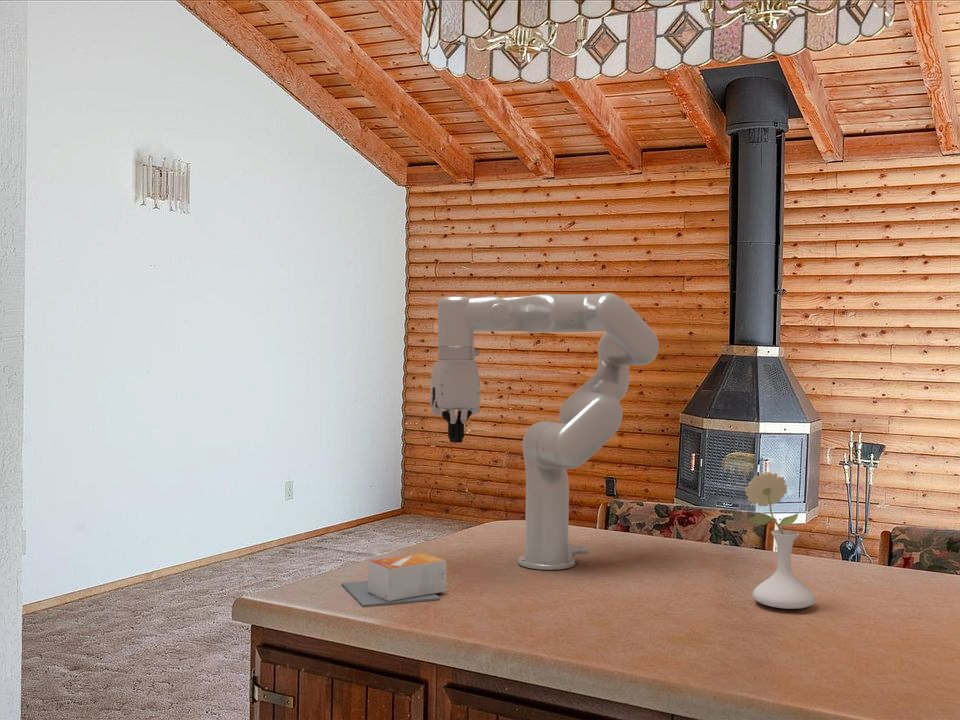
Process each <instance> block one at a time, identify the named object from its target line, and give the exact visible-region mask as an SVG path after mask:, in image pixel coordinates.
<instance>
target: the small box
mask: <svg viewBox="0 0 960 720" xmlns="http://www.w3.org/2000/svg"><path fill="white" fill-rule="evenodd" d="M367 561H368V562H367V563H368V565H367V567H368V568H367V569H368V570H367V581H368V592H369V593H371V594H373V595H375V596H377V597H379V598H382V599H384V600H387V601H394V600H400V599H406V598H411V597H417V596H422V595H428V594H440V593H445V592H447V560H446V559H443V558H439V557H437V556H434V555H430V554H428V553H426V552H422V553H415V554H408V555H401V556H394V557H393V556H392V557H386V558H378V559H372V560H367Z"/></svg>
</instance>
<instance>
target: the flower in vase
mask: <svg viewBox="0 0 960 720" xmlns="http://www.w3.org/2000/svg"><path fill="white" fill-rule="evenodd" d="M750 480H751V481H749V482H748V483H747V484H748V486H746V487H745V488H744V492H745V496H746V497H747V501H748V502H750V503H751V504H757V506H761V507H768V506H769V512H770V515H771V516H770V515H769V514H767V513H758V514H756V515H754V516H753V517H751V518H750V520H749V521H748V522H749V523H753V524H756V525H760V526H762V525H763V526H765V525H767V524H768V523H769V522H771V521H772V520H773V521H774V524H775V525H776V527H777V528H778V529H774V530H771V531H770V533H771V534H772V536H773V538H774V540H775V544H776V547H777V555H778V556H777V557H778V558H777V567H776V570H775V572H774V573H773V574H772V575H770V577H768V578H766V579H765V580H764V581H762V582H761V583H760V584H758V585H756V587H755V588H754V589H753V591H752V597H753V599H754V600H755V601H757V602H759V604H762V605H765V606H769V607H772V608H778V609H785V610H786V609H787V610H796V609H804V608H809V607H811V606H813V605H815V603H816V601H817V597H816V595H815V594H814V593H813V591H812V590H811V589H810V588H809V587H808V586H807V585H806V584H805V583H803V582H802V581H801V580H800V579H799V578H798V577H797V576H796V575H795V574H794V572H793V570H792V565H791V564H792V562H791V560H792V559H791V558H792V549H793V546H794V543H795V540H796V538H797V537H798V536H799V532H798V531H794V530H786V529H782V528H781V527H784V526H789V525H791V524H793V523H794V522H796V521H797V519H798V517H799V512H797V513H795V514H793V515H790V516H786V517H783V518H782V519H781V520H780V522H779V523H778V521H777V520H776V519H775V517H774V514H773V511H772V510H773V509H772V506H773V505H774V504H775V503H776V504H777V503H780V502H781V501H782V499H783V498H784V497H785V495H786V494H787V493H788V488H787V484H786V480H785V478H784V477H783V476H778V474H777V473H776V472H775V473H772V472H770V471H769V472H767V473H764V472H760V473H759V475H755V476H753V478H751V479H750Z"/></svg>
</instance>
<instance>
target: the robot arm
mask: <svg viewBox="0 0 960 720" xmlns="http://www.w3.org/2000/svg"><path fill="white" fill-rule="evenodd" d="M437 305H438V306H437V334H438V335H437V361H434V362H433V367H432V372H431V379H430V391H429V404H430V406H431V407H432V409H431V414H432V415H435V416H440V417H442V419H444V421H445V422H446V423H447V430H448V431H447V437H448V439H449V442H450V443H453V444H458V443H463V439H464V438H465V424H466V423H467V421H468V419H469V418H470V417H472V416H473V415H477V414H480V412H481V408H480V405H481V398H482V397H481V381H480V379H481V378H480V374H479V367H478V363H477V361H475V359H476V357H478V356H480V350H479V349H476V348H475V341H474V340H475V339H474V337H475V336H474V335H475V332H476V333H477V332H478V333H479V332H482V333H483V332H486V333H487V332H525V333H532V334H533V333H534V334H535V333H536V334H537V333H538V334H539V333H540V334H541V333H544V334H545V333H548V334H549V333H550V334H551V333H583V332H585V333H586V332H587V333H588V332H589V333H590V332H592V333H593V332H604V333H603V334H602V336H601V337H600V339H599V342H598V347H597V355H598V364H597V368H596V371H595V373H594V374H592V376H591V377H590V378H588V380H587V381H586V382H585V383H583V384H582V385H581V386H580V387H578V389H577V390H576V391H574V393H573V394H571V395H570V396H569V397H567V399H566V400H565V401H564V402H563V403H562V405H561V407H560V409H559V414H558V415H559V420H560V422H555V421H548V420H545V421H544V420H543V421H539V422H535V423H534V424H532V425H530V426H529V427H528V428H527V430H525V433H524V436H523V438H522V454H523V461H524V468H525V470H524V471H525V533H524V534H525V536H524V540H525V541H524V542H525V543H524V544H525V547H524V549H525V550H524V552H525V553H524V554H522V555H520V556H518V557H517V560H518V561H517V563H518V564H519V566H522V567H524V568H527V569H528V568H529V569H534V570H543V571H544V570H545V571H546V570H547V571H552V570H553V571H556V570H557V571H558V570H566V569H569V568H572V567H574V566H575V565H576V559H575V558H574V557H575V556H576V555H587V554H588V553H589V547H588V545H587V544H583V545H580V544H579V545H578V544H572V543H571V542H569V509H570V503H569V502H570V501H569V500H570V484H569V483H570V482H569V476H568V472H567V471H568V470H572V469H576V468H580V467H581V466H582V465H583V464H585V463H586V462H587V461H588V460H590V459H591V458H592V457H593V456H594V455H595V454H596V453H597V452H598V451H599V450H601V448H603V446H604V445H606V443H608V442H609V440H611V439H612V437H614V436H615V434H616V433H617V432H618V431H619V429H620V426H621V424H622V421H623V415H624V414H623V407H622V405H621V403H620V402H621V401H622V399H623V398H624V397H625V395H627V391H629V386H630V385H629V384H630V366H645V365H649V364H650V363H652V362H653V361H654V360H655V359H656V358H657V356H658V354H659V349H660V344H659V339H658V336H657V335H656V333H655V331H654V329H652V328H651V327H650V326H649V324H647V323H646V321H645V320H644V319H643V318H642V317H641V316H640V315H639V314H638V313H637V312H636V311H635V310H634V309H633V308H632V306H630V304H628V302H627V301H625V299H623V298H621V297H620V296H619V295H617V294H614V293H613V292H611V293H610V292H603V293H585V294H584V293H583V294H582V293H581V294H580V293H579V294H577V293H576V294H575V293H573V294H572V293H571V294H568V293H566V294H563V293H561V294H560V293H555V294H554V293H543V294H542V293H541V294H532V295H524V296H517V297H501V296H496V295H489V296H488V295H487V296H476V297H469V296H458V295H457V296H455V295H454V296H444V297H441V298H440V299H439V301H438V304H437ZM455 410H456V411H455Z"/></svg>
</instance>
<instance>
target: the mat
mask: <svg viewBox="0 0 960 720" xmlns="http://www.w3.org/2000/svg"><path fill="white" fill-rule="evenodd" d="M341 586H342V587H343V588H344V589H345V591H347V593H349V595H351V596H352V598H353V599H354V600H355V601H356V602H357V601H358V602H359V603H358V602H357V603H358V604H359V605H360V606H361V607H362V608H366V607H368V608H370V607H379V606H387V605H388V606H389V605H400V604H411V603H422V601H423V602H433V600H434V601H440V600H441V597H440V596H439V595H438V594H437V593H435V594H428V595H422V596H417V597H411V598H406V599H400V600H394V601H387V600H384V599H382V598H379V597H377V596H375V595H373V594H371V593H369V592H368V580H365V581H364V580H363V581H352V582H342V583H341Z"/></svg>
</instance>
